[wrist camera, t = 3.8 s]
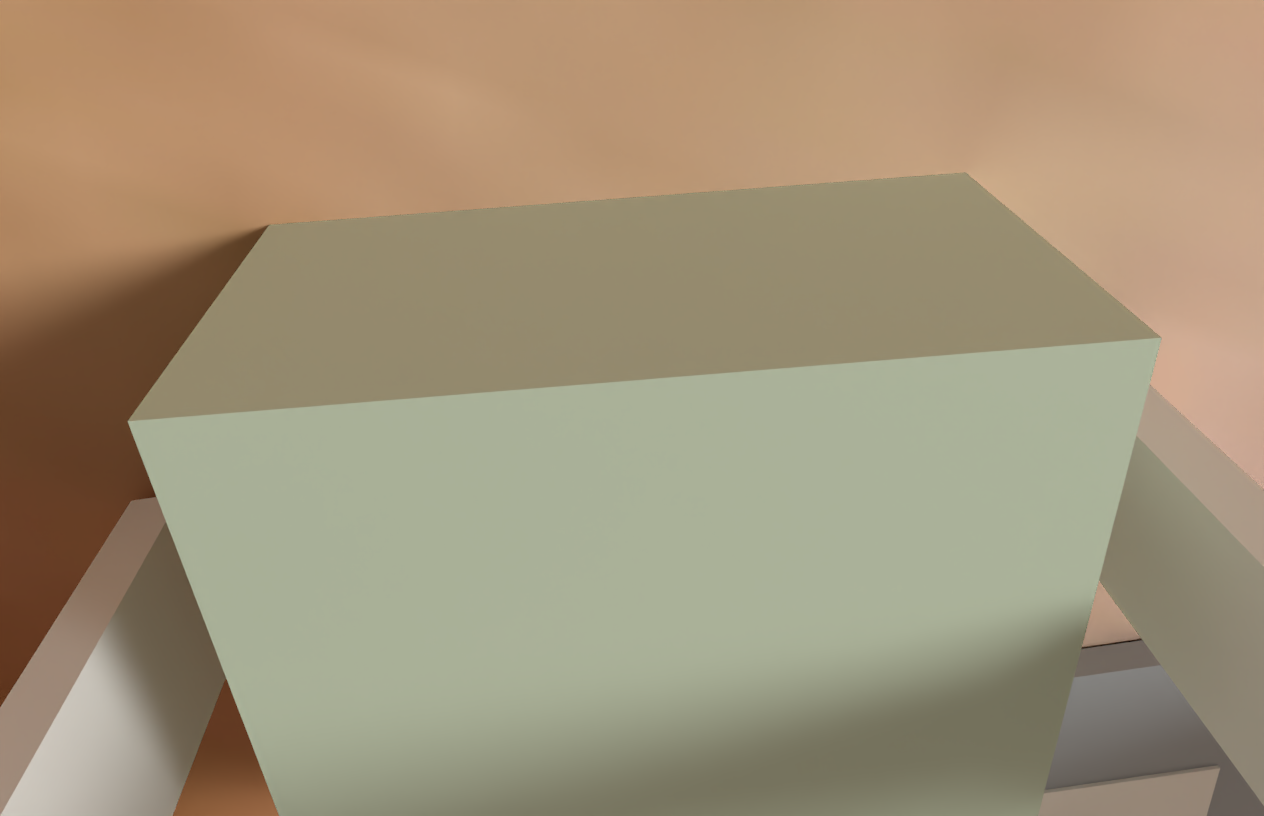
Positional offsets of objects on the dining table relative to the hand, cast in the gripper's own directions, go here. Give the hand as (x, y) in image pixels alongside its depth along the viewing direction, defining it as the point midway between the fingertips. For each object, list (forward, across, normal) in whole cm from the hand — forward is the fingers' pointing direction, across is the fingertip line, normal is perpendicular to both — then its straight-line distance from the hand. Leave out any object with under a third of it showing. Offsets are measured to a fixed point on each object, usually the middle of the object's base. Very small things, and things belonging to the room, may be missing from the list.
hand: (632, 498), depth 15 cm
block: (0, 0, 0) cm, 0 cm away
